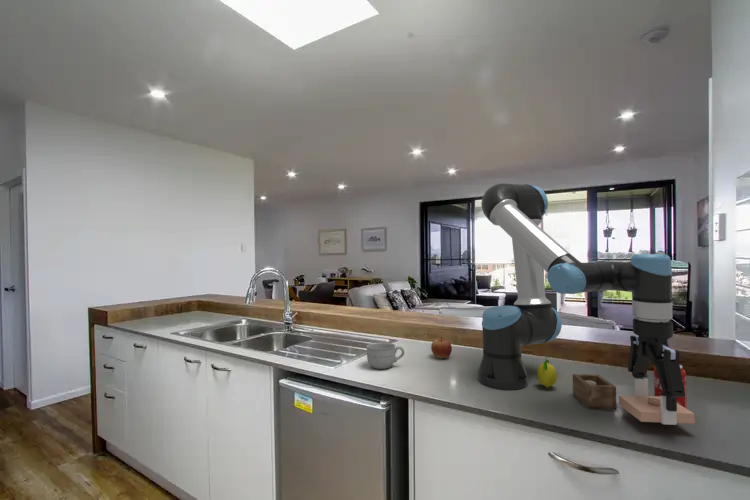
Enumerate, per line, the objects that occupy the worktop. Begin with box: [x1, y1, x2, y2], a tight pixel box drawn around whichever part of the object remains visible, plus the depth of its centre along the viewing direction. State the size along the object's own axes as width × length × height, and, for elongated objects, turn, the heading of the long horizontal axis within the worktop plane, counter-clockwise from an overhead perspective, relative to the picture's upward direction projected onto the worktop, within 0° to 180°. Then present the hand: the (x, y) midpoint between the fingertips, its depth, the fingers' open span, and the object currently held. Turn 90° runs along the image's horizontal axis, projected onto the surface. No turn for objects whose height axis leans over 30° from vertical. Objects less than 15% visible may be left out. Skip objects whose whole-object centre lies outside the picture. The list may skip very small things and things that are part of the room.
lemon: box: [536, 354, 558, 389], centre depth 106 cm, size 7×6×10 cm
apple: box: [430, 336, 453, 359], centre depth 138 cm, size 8×8×8 cm
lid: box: [618, 395, 696, 424], centre depth 83 cm, size 9×11×4 cm
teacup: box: [366, 342, 405, 370], centre depth 129 cm, size 14×11×8 cm
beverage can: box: [653, 364, 688, 409], centre depth 90 cm, size 6×6×12 cm
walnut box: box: [572, 373, 617, 411], centre depth 96 cm, size 7×9×6 cm
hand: (654, 413), depth 83 cm, fingers closed on lid, 9 cm apart
